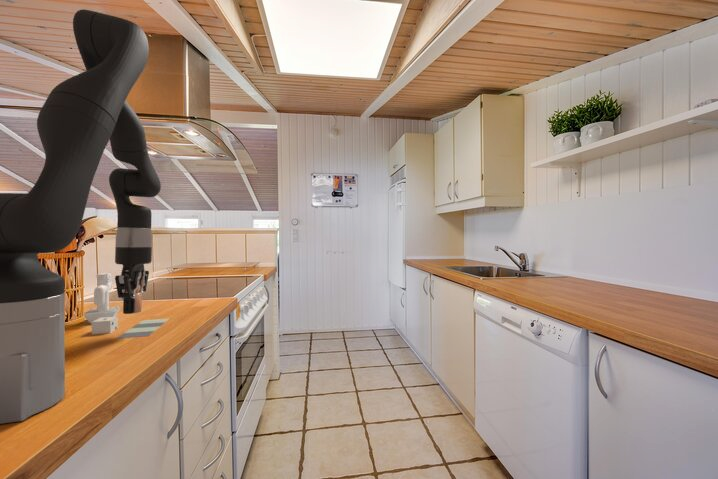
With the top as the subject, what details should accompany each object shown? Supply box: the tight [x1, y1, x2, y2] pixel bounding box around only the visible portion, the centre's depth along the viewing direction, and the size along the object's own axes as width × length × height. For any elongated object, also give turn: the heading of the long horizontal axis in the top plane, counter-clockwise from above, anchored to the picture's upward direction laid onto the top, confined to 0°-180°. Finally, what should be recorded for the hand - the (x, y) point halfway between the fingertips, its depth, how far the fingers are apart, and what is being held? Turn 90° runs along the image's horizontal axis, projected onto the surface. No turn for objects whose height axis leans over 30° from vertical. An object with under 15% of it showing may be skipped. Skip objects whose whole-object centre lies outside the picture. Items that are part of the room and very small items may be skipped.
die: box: [91, 316, 119, 335], centre depth 77 cm, size 4×4×4 cm
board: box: [115, 318, 170, 340], centre depth 81 cm, size 16×7×1 cm, turn 17°
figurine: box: [83, 272, 122, 325], centre depth 87 cm, size 7×9×15 cm
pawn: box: [131, 285, 143, 315], centre depth 74 cm, size 4×4×8 cm
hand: (132, 311), depth 74 cm, fingers closed on pawn, 3 cm apart
